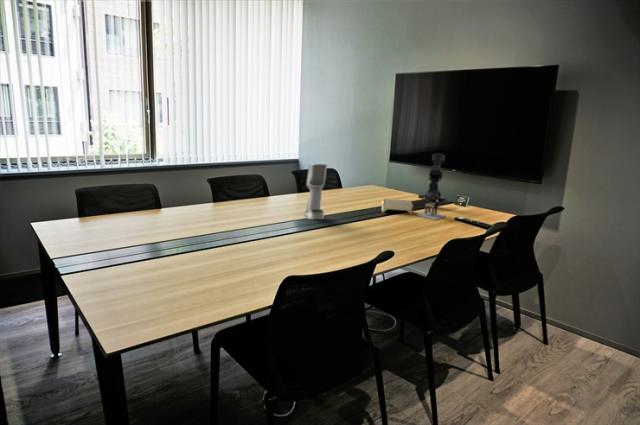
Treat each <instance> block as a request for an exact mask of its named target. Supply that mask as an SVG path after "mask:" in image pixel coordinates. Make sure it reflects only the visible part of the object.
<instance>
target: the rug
mask: <svg viewBox="0 0 640 425" xmlns="http://www.w3.org/2000/svg"><path fill="white" fill-rule="evenodd" d="M415 216H416V217H419V218H420V217H421V218H424V219H428V220H433V221H436V220H439V219H442V218H446V215H444V214H440V213H437V214H433V215H431V211H430V213H429V212H428V211H427V214H425V212H422V213H419V214H416V215H415Z"/></svg>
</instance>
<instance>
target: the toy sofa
mask: <svg viewBox="0 0 640 425" xmlns="http://www.w3.org/2000/svg"><path fill="white" fill-rule="evenodd" d="M381 204H382V205H381V211H382V212H381V213H385V212H386V211H387V210H397V211H407V213H408V214H410V215H412V210H413V207H414V205H413V200H411V199H408V200H407V199H404V200H403V199H392V198H386V197H385V198H384V199H383V200H381Z"/></svg>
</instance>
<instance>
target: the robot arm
mask: <svg viewBox="0 0 640 425" xmlns="http://www.w3.org/2000/svg"><path fill="white" fill-rule="evenodd" d="M445 156H446V155H445V154H442V153H433V154H432V155H431V160H432V164H433V166H432V167H431V169H430V170H429V175H428V180H429V184H428V187H429V188H428V190H427V192H426V193H425V192H424V193H423V192H422V193H419V194H418V199H421V200H422V201H423V202H424V204H425V206H426V203H429V202H431V203H435V207H434V212H435V211H436V210H437V211H438V208H439V206H440V205H441V203H442V204H444V203H447V202H448V198H447V197H444V196H442V194H441V192H440V191H441V190H440V188H439V185H440V182H441V180H442V179H443V172H442V168H441V166H442V165H443V164H444V163H443V162H444V161H445ZM428 208H429V206H428ZM431 209H432V207H431Z"/></svg>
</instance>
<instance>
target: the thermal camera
mask: <svg viewBox="0 0 640 425" xmlns="http://www.w3.org/2000/svg"><path fill="white" fill-rule="evenodd" d="M327 168H328V164H327V163H309V164H308V168H307V176H306V182H305V186H306V188H307V189H309V195H308V200H307V203H306V207H305V208H306V209H305V211H304V212H303V216H305V217H306V218H307V220H314V221H315V220H316V219H318V220H324V219H325V214H324V213H325V212H324V210H323V209H321V206H322V191H323V188H324V186H325V183H326V176H327Z"/></svg>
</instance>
